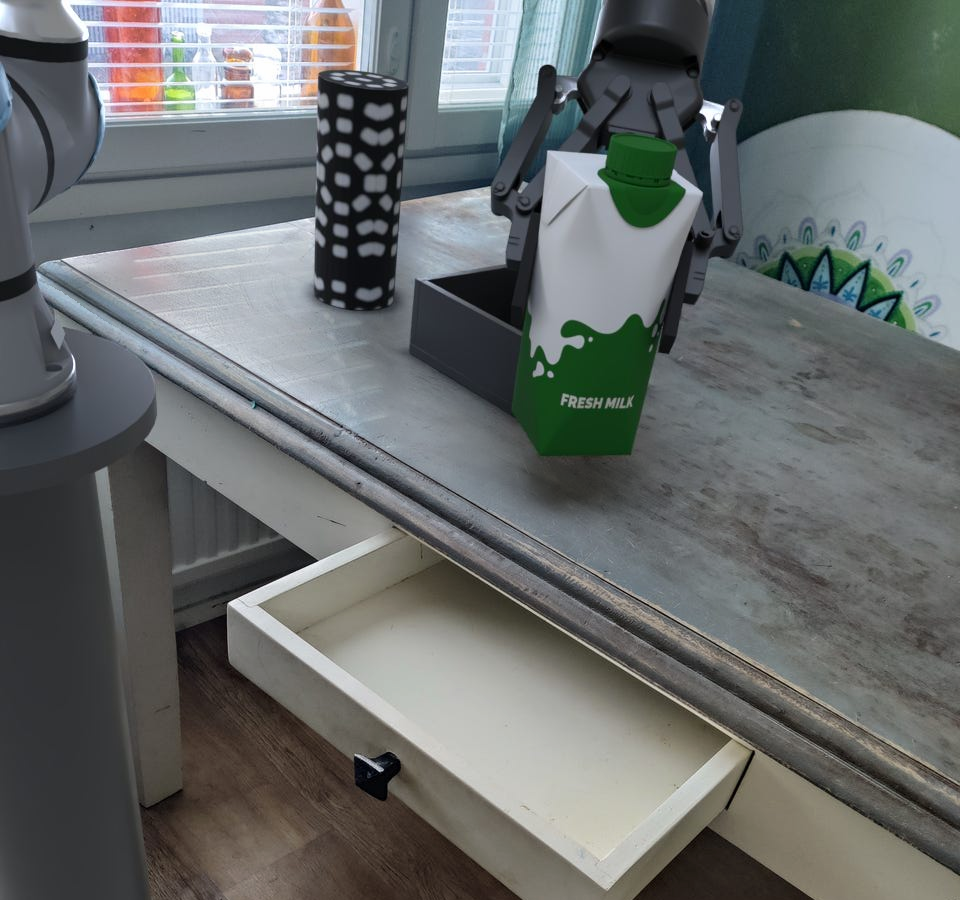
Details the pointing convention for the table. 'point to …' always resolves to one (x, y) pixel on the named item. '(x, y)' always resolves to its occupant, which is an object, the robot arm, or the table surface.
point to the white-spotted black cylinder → (358, 187)
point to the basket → (469, 330)
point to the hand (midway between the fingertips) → (591, 330)
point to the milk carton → (600, 294)
